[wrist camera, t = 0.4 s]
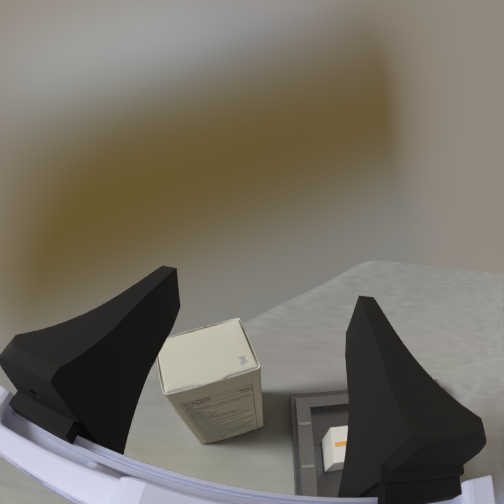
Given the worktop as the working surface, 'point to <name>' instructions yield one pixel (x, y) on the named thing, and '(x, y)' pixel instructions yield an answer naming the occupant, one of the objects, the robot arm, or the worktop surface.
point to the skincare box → (213, 380)
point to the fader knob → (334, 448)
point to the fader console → (316, 440)
